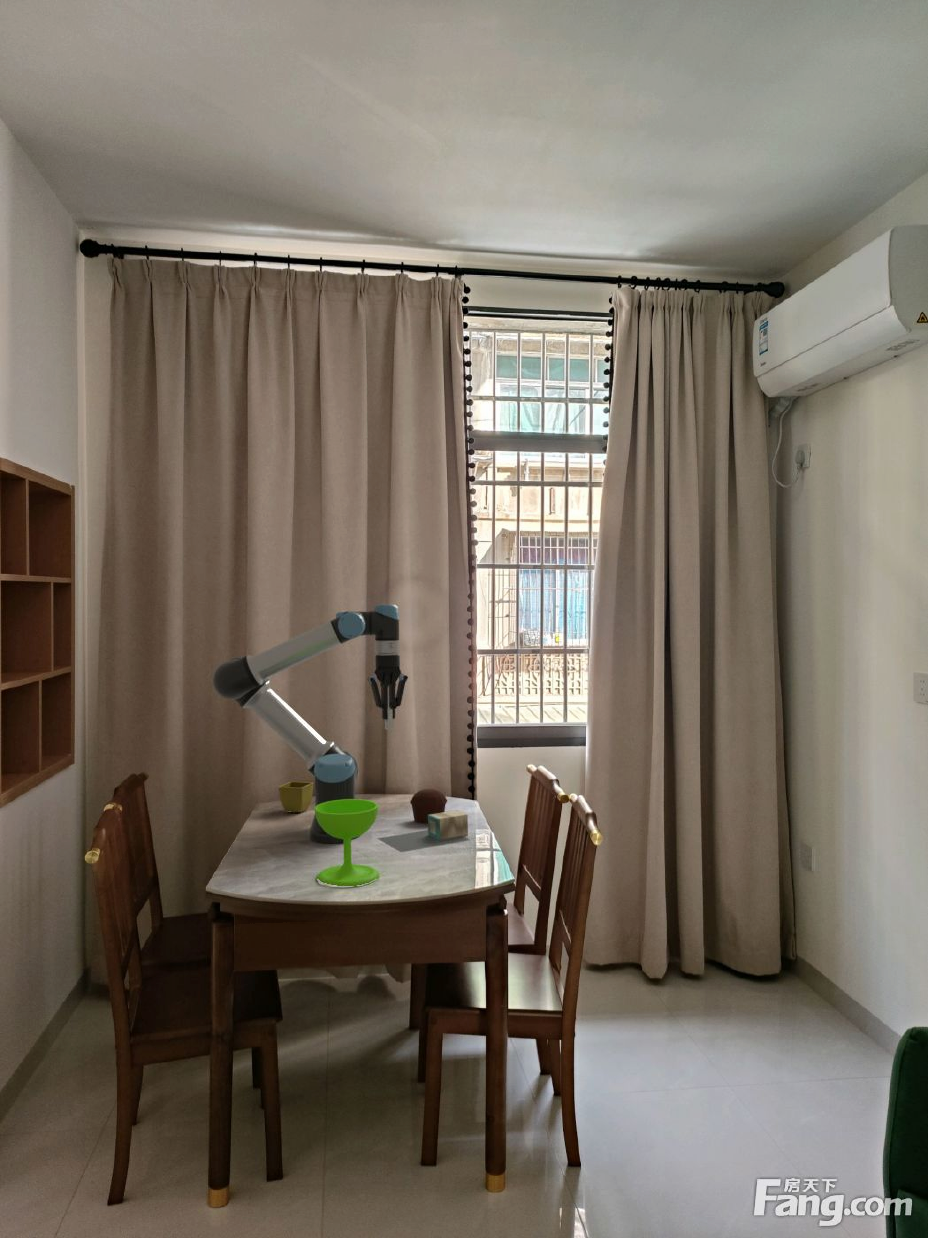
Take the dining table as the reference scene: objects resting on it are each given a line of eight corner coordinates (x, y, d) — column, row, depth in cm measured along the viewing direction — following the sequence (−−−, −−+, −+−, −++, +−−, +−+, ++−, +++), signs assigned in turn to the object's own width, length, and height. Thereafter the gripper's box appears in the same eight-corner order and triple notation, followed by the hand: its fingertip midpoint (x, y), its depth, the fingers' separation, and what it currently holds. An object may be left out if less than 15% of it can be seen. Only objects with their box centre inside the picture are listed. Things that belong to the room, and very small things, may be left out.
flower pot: (278, 814, 283) (277, 786, 283) (291, 807, 291) (290, 781, 291) (302, 815, 280) (301, 788, 280) (314, 809, 289) (314, 782, 289)
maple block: (437, 819, 247) (467, 814, 252) (427, 814, 253) (457, 810, 258) (437, 840, 248) (467, 834, 253) (428, 835, 253) (457, 830, 258)
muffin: (405, 825, 266) (405, 793, 266) (416, 816, 277) (415, 785, 276) (442, 827, 263) (442, 795, 263) (451, 818, 274) (451, 787, 274)
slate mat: (401, 853, 236) (401, 852, 236) (377, 840, 250) (377, 838, 250) (470, 841, 247) (470, 839, 247) (444, 829, 261) (444, 827, 261)
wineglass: (303, 878, 217) (301, 807, 217) (354, 863, 228) (352, 796, 228) (341, 892, 206) (339, 818, 205) (392, 877, 217) (391, 806, 216)
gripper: (372, 655, 261) (373, 733, 262) (411, 653, 267) (412, 729, 268) (363, 654, 268) (365, 730, 269) (401, 652, 274) (403, 726, 275)
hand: (388, 729), depth 268 cm, fingers closed
